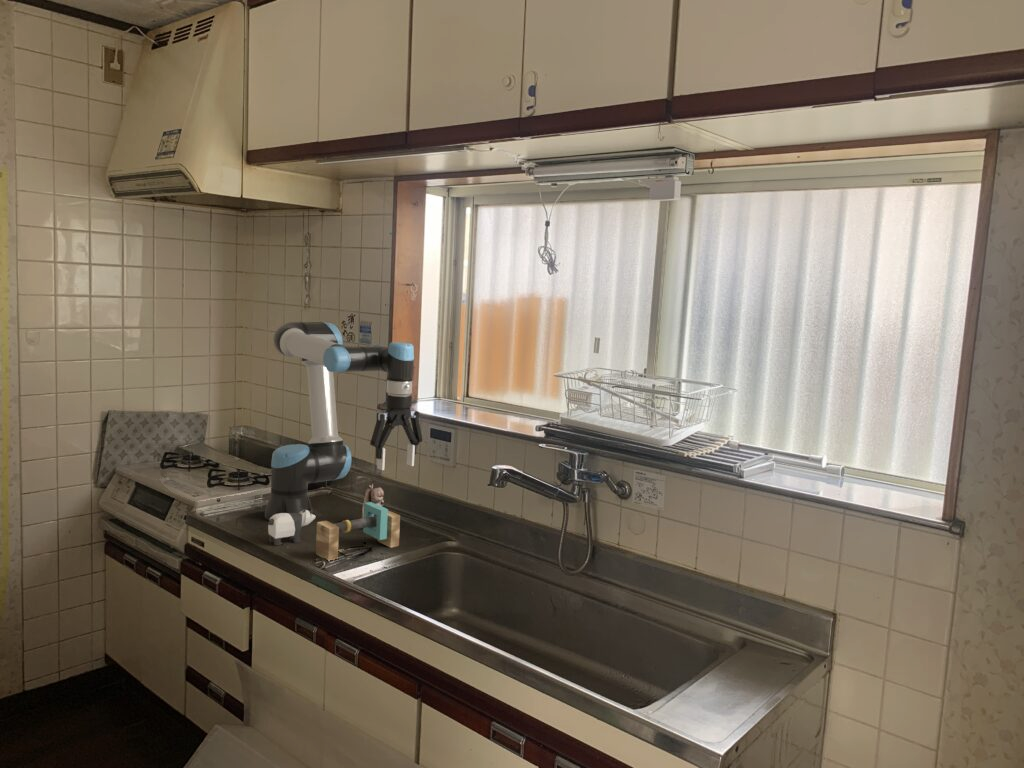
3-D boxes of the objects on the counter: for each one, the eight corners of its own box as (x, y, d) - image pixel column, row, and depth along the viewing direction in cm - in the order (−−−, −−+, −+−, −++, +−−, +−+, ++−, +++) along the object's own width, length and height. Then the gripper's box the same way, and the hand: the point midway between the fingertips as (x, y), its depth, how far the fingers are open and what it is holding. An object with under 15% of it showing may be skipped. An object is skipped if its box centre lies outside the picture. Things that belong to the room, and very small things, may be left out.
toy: (386, 530, 246) (375, 485, 245) (362, 535, 248) (350, 490, 247) (396, 522, 255) (385, 478, 254) (373, 527, 257) (362, 483, 256)
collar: (379, 540, 228) (381, 510, 227) (363, 532, 235) (364, 503, 233) (386, 538, 230) (387, 509, 229) (369, 530, 236) (370, 501, 235)
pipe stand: (328, 561, 218) (329, 527, 217) (315, 554, 223) (316, 521, 222) (398, 545, 235) (400, 514, 233) (385, 539, 240) (387, 508, 238)
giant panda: (272, 547, 227) (273, 515, 226) (264, 541, 231) (265, 510, 230) (318, 539, 236) (319, 508, 235) (310, 534, 240) (311, 504, 239)
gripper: (374, 398, 221) (370, 474, 224) (436, 394, 237) (433, 465, 239) (359, 394, 226) (356, 468, 229) (422, 391, 242) (418, 460, 245)
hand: (395, 467), depth 234 cm, fingers open, 10 cm apart
